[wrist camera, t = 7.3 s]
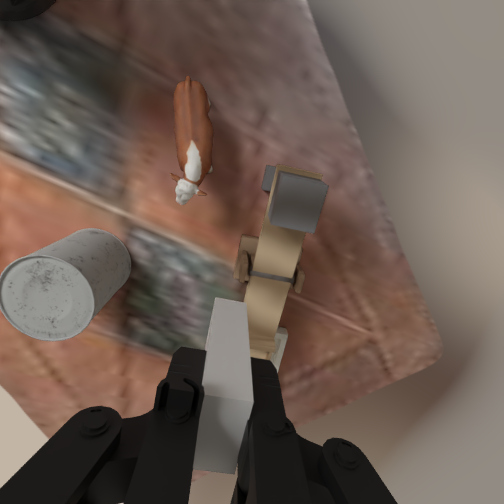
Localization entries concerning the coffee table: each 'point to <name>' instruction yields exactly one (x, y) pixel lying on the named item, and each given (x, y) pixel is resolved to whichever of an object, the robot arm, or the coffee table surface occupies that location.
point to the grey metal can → (64, 284)
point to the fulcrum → (247, 258)
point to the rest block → (268, 178)
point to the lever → (280, 251)
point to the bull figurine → (192, 138)
